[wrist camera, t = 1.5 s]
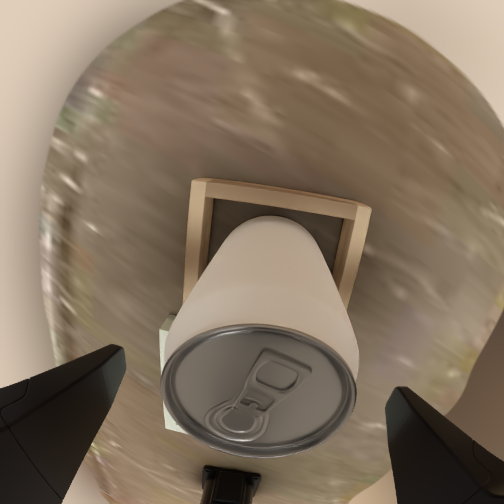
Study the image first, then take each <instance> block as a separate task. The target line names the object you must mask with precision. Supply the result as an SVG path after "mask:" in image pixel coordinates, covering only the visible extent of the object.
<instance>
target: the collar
mask: <svg viewBox="0 0 504 504" xmlns="http://www.w3.org/2000/svg"><path fill="white" fill-rule="evenodd" d="M214 198H219V199H226V200H233V201H241V202H248V203H255V204H261V205H268V206H275V207H281V208H287V209H294V210H300V211H306V212H312V213H317V214H323V215H329V216H335V217H340V218H344V221H343V226H342V230H341V235H340V240H339V245H338V249H337V254H336V258H335V263H334V267H333V271H332V278H333V280H334V282H335V285H336V287H337V290H338V292H339V294H340V297H341V299H342V302H343V304H344V307H345V309H346V311H347V307H348V304H349V300H350V297H351V293H352V290H353V286H354V282H355V279H356V275H357V271H358V267H359V263H360V259H361V255H362V251H363V247H364V242H365V238H366V234H367V229H368V224H369V220H370V215H371V210H372V208H370V207H368V206H367V205H365V204H363V203H361V202H358V201H353V200H348V199H343V198H338V197H333V196H327V195H322V194H316V193H310V192H304V191H299V190H292V189H286V188H280V187H273V186H267V185H260V184H253V183H246V182H238V181H230V180H222V179H214V178H205V177H202V178H198V179H194V180H192V183H191V193H190V203H189V214H188V226H187V239H186V254H185V270H184V290H183V304H184V302H185V301H186V299H187V298H188V296H189V294H190V293H191V291H192V290H193V288H194V286H195V285H196V283H197V282H198V280H199V279H200V277H201V276H202V274H203V272H204V271H205V269H206V268H207V261H208V250H209V240H210V230H211V220H212V210H213V201H214Z"/></svg>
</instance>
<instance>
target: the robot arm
mask: <svg viewBox="0 0 504 504" xmlns="http://www.w3.org/2000/svg"><path fill="white" fill-rule="evenodd" d="M125 371H126V361H125V353H124V349H123V347H121V346H118V345H115V344H110V345H108V346H105V347H103V348H101V349H98V350H96V351H94V352H91V353H89V354H87V355H84V356H82V357H79V358H77V359H75V360H72V361H70V362H67V363H65V364H63V365H60V366H58V367H55V368H53V369H51V370H48V371H45V372H43V373H41V374H38V375H36V376H33V377H31V378H30V379H25V380H23V381H20V382H18V383H15V384H12V385H9V386H6V387H3V388H0V504H61V503H62V502H63V499H64V497H65V495H66V493H67V491H68V489H69V487H70V485H71V483H72V480H73V479H74V477H75V475H76V473H77V471H78V469H79V467H80V465H81V463H82V461H83V459H84V457H85V455H86V453H87V451H88V449H89V447H90V446H91V444H92V442H93V440H94V438H95V436H96V434H97V432H98V430H99V429H100V427H101V425H102V423H103V421H104V419H105V417H106V416H107V414H108V412H109V410H110V408H111V406H112V404H113V401H114V399H115V396H116V394H117V391H118V389H119V386H120V384H121V381H122V379H123V376H124V374H125ZM385 413H386V424H387V436H388V447H389V453H390V458H391V464H392V470H393V476H394V482H395V489H396V496H397V503H398V504H504V461H502V460H501V459H499V458H498V457H496V456H494V455H493V454H491V453H490V452H489V451H487V450H486V449H485V448H483V447H482V446H481V445H479V444H478V443H477V442H476V441H475V440H473V439H472V438H471V437H469V436H468V435H467V434H466V433H464V432H463V431H462V430H461V429H459V428H458V427H457V426H456V425H454V424H453V423H452V422H451V421H449V420H448V419H447V418H446V417H444V416H443V415H442V414H441V413H439V412H438V411H437V410H436V409H434V408H433V407H432V406H431V405H429V404H428V403H427V402H426V401H424V400H423V399H422V398H421V397H419V396H418V395H417V394H416V393H414V392H413V391H412V390H411V389H409V388H408V387H406V386H398V387H396V388H395V389H394V390H393V392H392V394H391V396H390V398H389V399H388V401H387V403H386V407H385ZM260 479H261V476H260V475H259V474H251V473H244V472H237V471H230V470H224V469H218V468H213V467H208V466H205V467H204V468H203V479H202V489H203V494H202V499H201V503H200V504H252V499H253V497H254V495H255V492H256V490H257V487H258V485H259V482H260Z"/></svg>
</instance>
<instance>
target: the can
mask: <svg viewBox="0 0 504 504" xmlns="http://www.w3.org/2000/svg"><path fill="white" fill-rule="evenodd" d="M164 363H165V366H164V368H163V371H162V375H161V382H160V388H161V395H162V399H163V402H164V405H165V407H166V409H167V411H168V412H169V414H170V415H171V417H172V418H173V420H174V421H175V422H176V423H177V424H178V425H179V426H180V427H181V428H182V429H183V430H184V431H185V432H186V433H187V434H189V435H190V436H191V437H193V438H194V439H196V440H198V441H199V442H201V443H203V444H205V445H207V446H209V447H211V448H213V449H216V450H218V451H221V452H224V453H228V454H232V455H236V456H241V457H248V458H279V457H286V456H291V455H295V454H299V453H302V452H305V451H308V450H310V449H313V448H315V447H317V446H319V445H321V444H323V443H324V442H326V441H327V440H329V439H330V438H332V437H333V436H334V435H335V434H336V433H338V432H339V431H340V430H341V429H342V427H343V426H344V425H345V424H346V422H347V421H348V419H349V418H350V416H351V414H352V412H353V409H354V407H355V403H356V396H357V389H356V383H355V382H356V378H357V374H358V369H359V351H358V345H357V341H356V337H355V334H354V331H353V328H352V325H351V322H350V320H349V317H348V314H347V312H346V309H345V307H344V304H343V302H342V299H341V297H340V294H339V292H338V290H337V287H336V285H335V282H334V280H333V278H332V275H331V273H330V271H329V268H328V266H327V264H326V262H325V259H324V257H323V255H322V253H321V251H320V248H319V246H318V244H317V243H316V241H315V239H314V238H313V237H312V235H311V234H310V233H309V232H308V231H307V230H306V229H305V228H304V227H303V226H301V225H300V224H298V223H296V222H295V221H292V220H290V219H287V218H284V217H280V216H260V217H256V218H253V219H250V220H248V221H246V222H244V223H242V224H240V225H239V226H238V227H236V228H235V229H234V230H233V231H232V232H231V233H230V234H229V236H228V237H227V238H226V239H225V241H224V242H223V244H222V245H221V247H220V248H219V250H218V251H217V253H216V254H215V256H214V257H213V259H212V260H211V262H210V263H209V265H208V266H207V268H206V269H205V271H204V272H203V274H202V276H201V277H200V279H199V280H198V282H197V283H196V285H195V286H194V288H193V290H192V291H191V293H190V294H189V296H188V298H187V299H186V301H185V302H184V304H183V306H182V307H181V309H180V311H179V312H178V314H177V316H176V318H175V320H174V321H173V323H172V325H171V328H170V330H169V333H168V335H167V338H166V342H165V349H164Z"/></svg>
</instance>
